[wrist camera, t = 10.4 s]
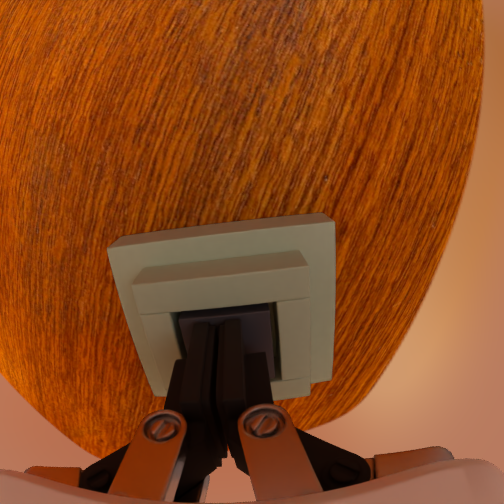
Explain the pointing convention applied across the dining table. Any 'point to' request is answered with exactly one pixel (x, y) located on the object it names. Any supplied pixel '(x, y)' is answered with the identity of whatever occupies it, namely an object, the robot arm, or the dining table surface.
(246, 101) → the dining table surface
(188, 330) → the key
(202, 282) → the beige stepped square frame
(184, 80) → the dining table surface
